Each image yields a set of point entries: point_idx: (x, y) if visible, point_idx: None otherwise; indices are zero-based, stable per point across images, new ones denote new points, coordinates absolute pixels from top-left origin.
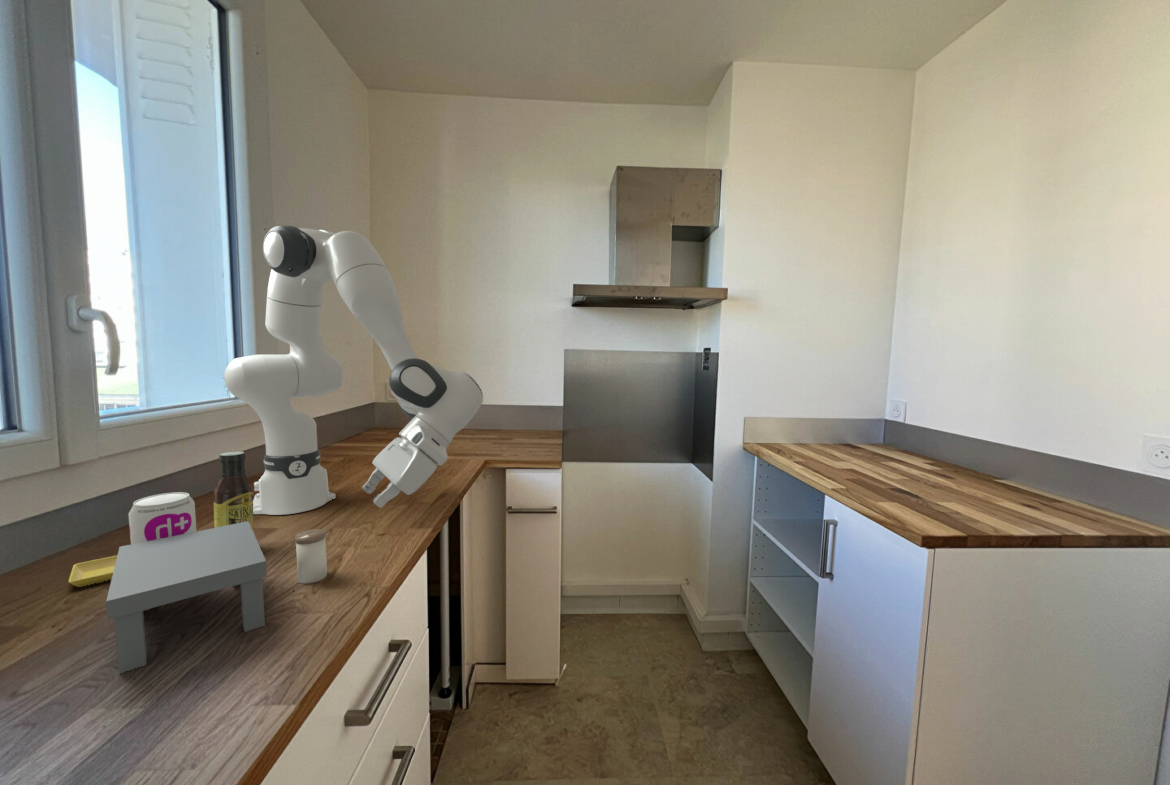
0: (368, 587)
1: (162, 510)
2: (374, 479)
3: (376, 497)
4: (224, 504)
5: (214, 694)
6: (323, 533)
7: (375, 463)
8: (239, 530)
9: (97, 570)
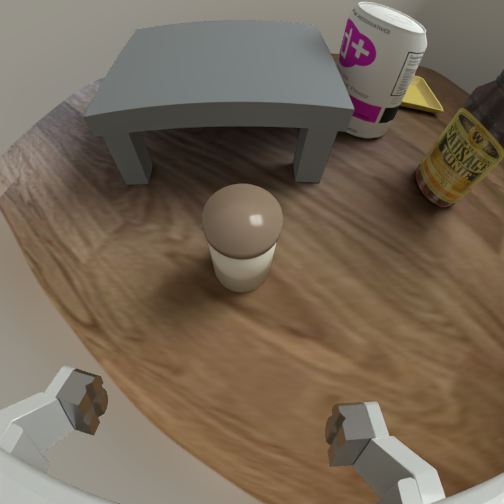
0: (117, 338)
1: (354, 15)
2: (382, 471)
3: (75, 385)
4: (459, 110)
5: (54, 151)
6: (222, 244)
7: (471, 499)
8: (297, 90)
9: (418, 92)
